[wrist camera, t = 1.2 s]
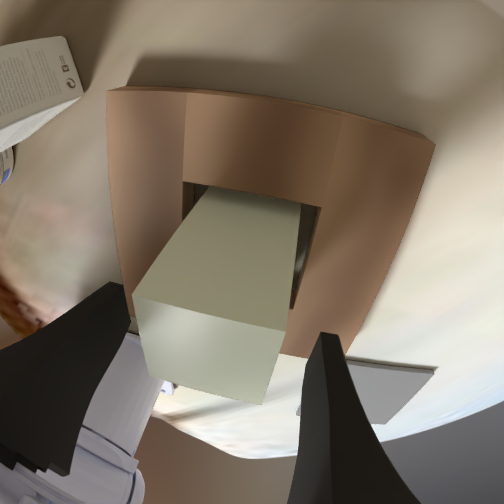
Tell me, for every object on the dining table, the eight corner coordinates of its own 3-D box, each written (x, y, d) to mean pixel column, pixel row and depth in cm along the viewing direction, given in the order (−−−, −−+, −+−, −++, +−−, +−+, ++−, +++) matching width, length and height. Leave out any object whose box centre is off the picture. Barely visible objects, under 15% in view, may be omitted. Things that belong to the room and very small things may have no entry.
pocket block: (139, 299, 21) (129, 315, 20) (124, 86, 13) (106, 90, 11) (339, 344, 20) (340, 363, 18) (423, 135, 12) (435, 144, 10)
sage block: (205, 259, 18) (149, 375, 11) (209, 186, 15) (131, 294, 9) (284, 275, 17) (261, 405, 11) (301, 203, 15) (285, 331, 8)
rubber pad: (296, 411, 26) (296, 415, 26) (326, 356, 21) (326, 361, 20) (384, 420, 25) (384, 424, 25) (433, 369, 20) (434, 374, 20)
